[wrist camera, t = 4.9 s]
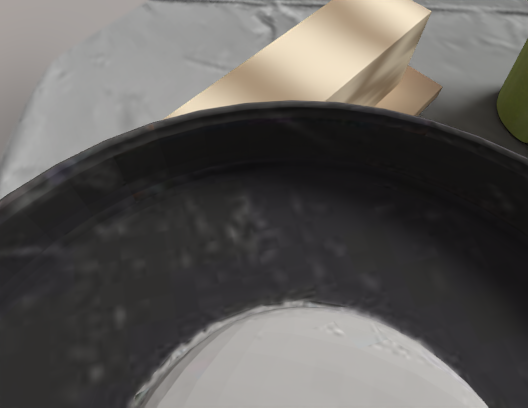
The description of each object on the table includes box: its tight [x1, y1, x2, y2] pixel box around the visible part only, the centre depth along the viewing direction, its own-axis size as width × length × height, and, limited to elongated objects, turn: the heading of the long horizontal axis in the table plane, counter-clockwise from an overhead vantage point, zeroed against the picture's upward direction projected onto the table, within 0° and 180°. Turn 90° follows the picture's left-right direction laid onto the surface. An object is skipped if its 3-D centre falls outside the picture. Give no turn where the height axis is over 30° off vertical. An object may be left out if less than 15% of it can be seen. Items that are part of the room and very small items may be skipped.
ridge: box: [163, 0, 442, 120], centre depth 25 cm, size 28×10×7 cm, turn 136°
